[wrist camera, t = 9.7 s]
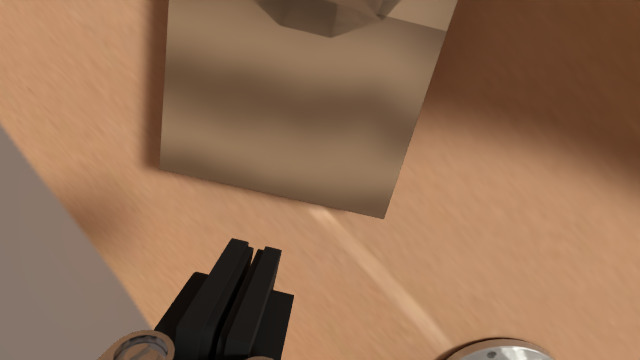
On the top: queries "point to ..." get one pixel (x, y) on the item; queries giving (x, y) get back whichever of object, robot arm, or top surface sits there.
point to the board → (299, 94)
